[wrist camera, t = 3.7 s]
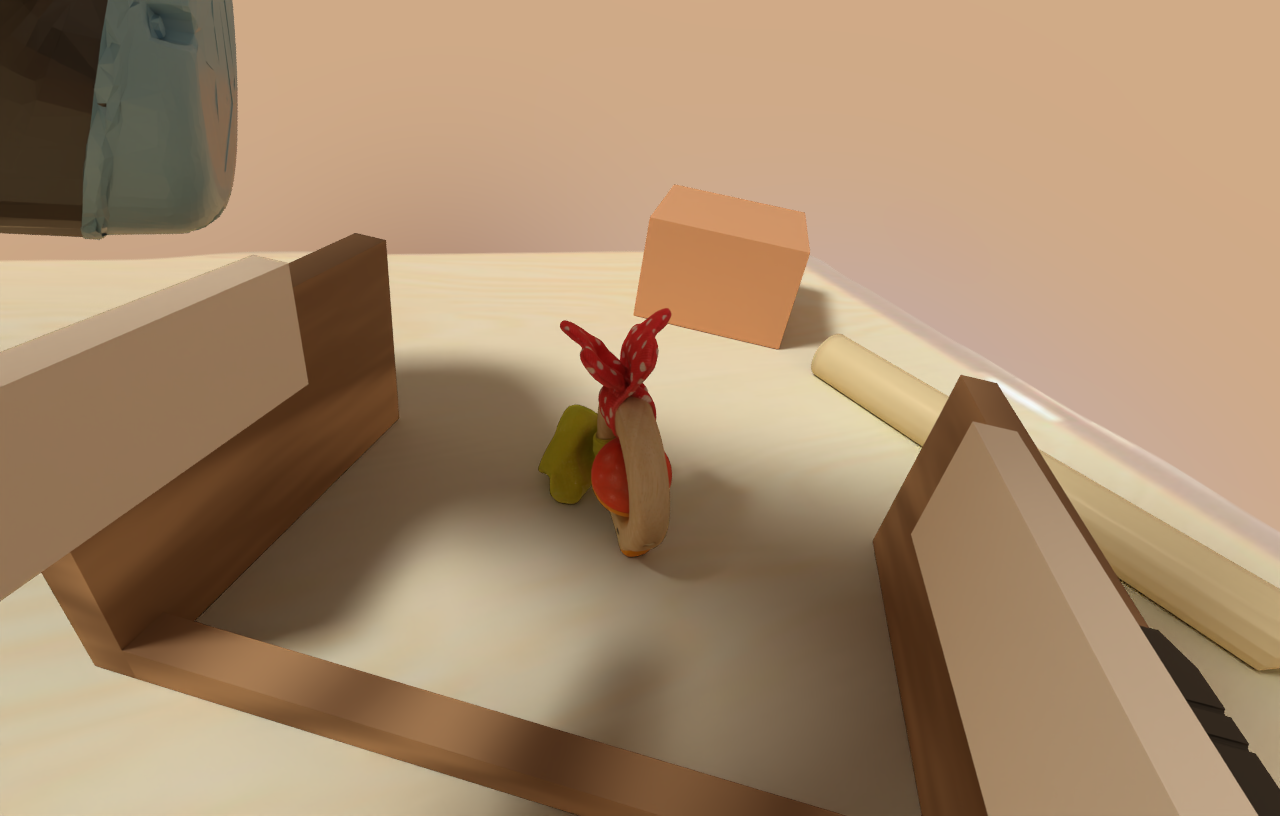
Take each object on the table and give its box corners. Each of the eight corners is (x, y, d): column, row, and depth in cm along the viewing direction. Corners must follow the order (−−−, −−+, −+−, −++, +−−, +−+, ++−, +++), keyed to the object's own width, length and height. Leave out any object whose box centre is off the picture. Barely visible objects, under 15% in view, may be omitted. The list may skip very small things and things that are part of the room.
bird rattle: (684, 567, 30) (634, 413, 34) (793, 468, 21) (708, 277, 25) (564, 594, 28) (525, 425, 32) (631, 495, 19) (565, 279, 23)
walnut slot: (95, 665, 20) (-49, 416, 14) (373, 411, 33) (355, 233, 27) (994, 944, 17) (1240, 774, 12) (902, 548, 31) (997, 383, 25)
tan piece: (1313, 728, 26) (1385, 679, 24) (803, 379, 45) (820, 336, 43) (1329, 689, 28) (1397, 640, 26) (835, 371, 47) (851, 329, 45)
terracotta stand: (633, 315, 49) (649, 217, 44) (658, 267, 59) (674, 184, 54) (778, 349, 48) (810, 252, 43) (779, 295, 58) (804, 212, 53)
